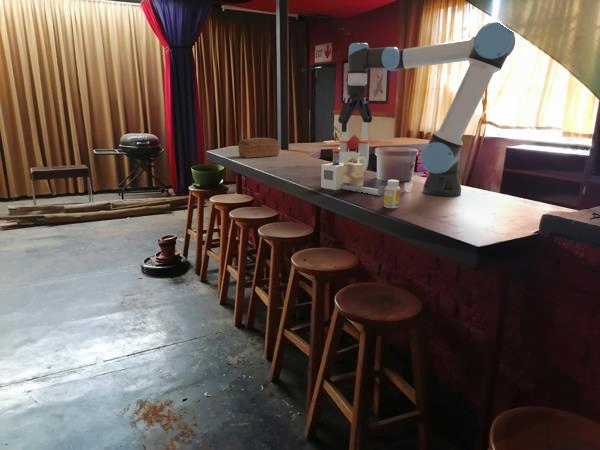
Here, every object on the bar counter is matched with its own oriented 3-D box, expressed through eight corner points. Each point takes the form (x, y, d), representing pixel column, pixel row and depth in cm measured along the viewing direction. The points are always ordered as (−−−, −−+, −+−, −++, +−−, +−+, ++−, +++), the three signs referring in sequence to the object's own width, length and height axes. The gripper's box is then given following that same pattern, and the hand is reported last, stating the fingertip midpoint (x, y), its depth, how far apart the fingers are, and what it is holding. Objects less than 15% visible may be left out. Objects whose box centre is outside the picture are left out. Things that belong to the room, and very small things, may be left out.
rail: (384, 194, 176) (384, 186, 175) (379, 196, 173) (379, 187, 172) (345, 187, 189) (345, 179, 188) (340, 189, 186) (340, 180, 185)
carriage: (363, 185, 183) (364, 164, 180) (356, 186, 179) (357, 165, 177) (350, 183, 187) (350, 162, 185) (342, 184, 184) (343, 163, 181)
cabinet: (349, 186, 191) (350, 164, 188) (335, 190, 184) (335, 166, 181) (335, 184, 196) (335, 162, 193) (320, 187, 189) (321, 164, 186)
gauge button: (341, 164, 187) (342, 148, 185) (336, 165, 185) (337, 148, 183) (335, 164, 190) (335, 147, 188) (330, 164, 187) (330, 148, 185)
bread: (235, 156, 288) (235, 138, 284) (271, 154, 304) (271, 136, 300) (246, 159, 277) (245, 139, 274) (282, 156, 293) (282, 137, 290)
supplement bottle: (386, 208, 153) (388, 182, 151) (382, 205, 158) (383, 179, 156) (401, 208, 154) (403, 181, 151) (396, 204, 159) (398, 179, 156)
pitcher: (371, 181, 204) (373, 152, 200) (337, 184, 197) (338, 153, 193) (360, 177, 213) (361, 149, 210) (327, 180, 207) (328, 151, 203)
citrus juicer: (335, 176, 215) (336, 136, 210) (340, 171, 232) (341, 133, 226) (366, 178, 212) (368, 136, 206) (369, 172, 228) (371, 134, 222)
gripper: (367, 86, 183) (365, 136, 189) (330, 84, 166) (328, 140, 171) (382, 85, 178) (379, 137, 184) (345, 84, 161) (343, 141, 167)
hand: (355, 139), depth 178 cm, fingers open, 13 cm apart
